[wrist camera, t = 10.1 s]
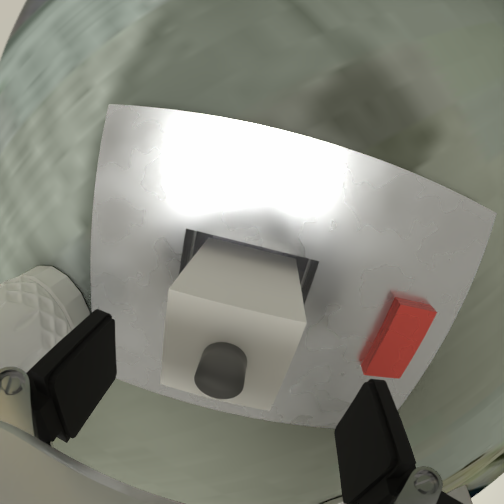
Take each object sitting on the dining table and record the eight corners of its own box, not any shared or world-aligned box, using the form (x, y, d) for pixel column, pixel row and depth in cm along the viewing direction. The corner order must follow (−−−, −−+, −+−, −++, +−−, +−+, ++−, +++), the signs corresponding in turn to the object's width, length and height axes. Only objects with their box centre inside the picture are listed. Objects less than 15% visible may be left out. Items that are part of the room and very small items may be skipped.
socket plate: (472, 204, 13) (505, 216, 10) (374, 407, 18) (383, 438, 15) (131, 109, 13) (99, 102, 10) (112, 350, 18) (92, 377, 15)
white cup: (58, 238, 16) (-58, 303, 7) (118, 337, 18) (42, 442, 9) (12, 279, 18) (-70, 337, 8) (61, 357, 20) (-2, 434, 10)
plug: (295, 258, 15) (310, 345, 8) (272, 331, 16) (268, 433, 9) (208, 237, 15) (155, 307, 8) (195, 312, 16) (151, 404, 9)
